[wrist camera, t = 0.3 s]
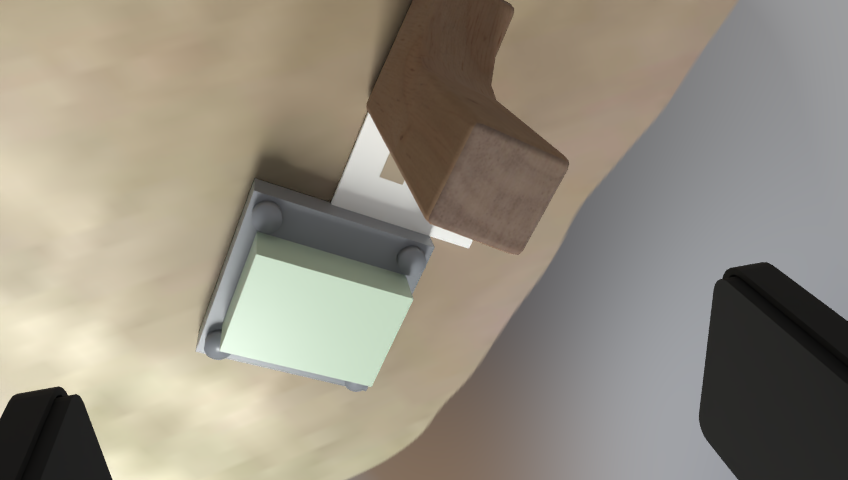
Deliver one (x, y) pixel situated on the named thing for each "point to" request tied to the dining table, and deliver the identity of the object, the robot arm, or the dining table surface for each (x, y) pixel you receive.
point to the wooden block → (462, 126)
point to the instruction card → (383, 188)
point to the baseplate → (315, 233)
